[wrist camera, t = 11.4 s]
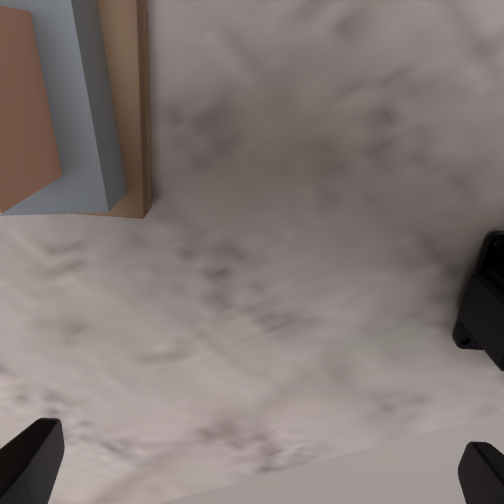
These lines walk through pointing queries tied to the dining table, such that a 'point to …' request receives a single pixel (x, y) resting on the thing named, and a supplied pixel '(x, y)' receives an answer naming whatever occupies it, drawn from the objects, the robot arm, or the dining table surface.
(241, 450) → the dining table surface
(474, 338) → the robot arm
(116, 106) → the walnut base block
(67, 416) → the dining table surface
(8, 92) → the terracotta block
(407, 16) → the dining table surface
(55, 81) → the slate top block
